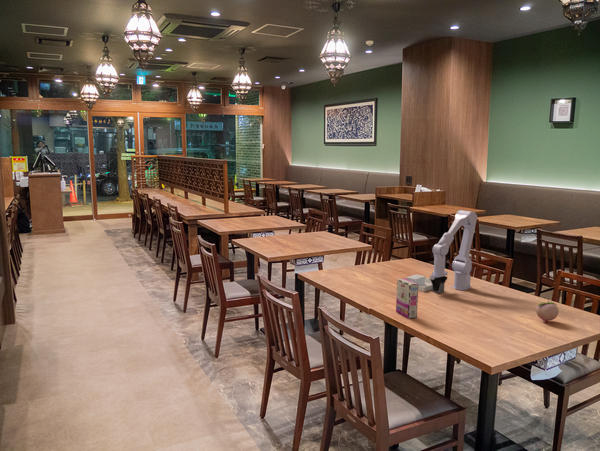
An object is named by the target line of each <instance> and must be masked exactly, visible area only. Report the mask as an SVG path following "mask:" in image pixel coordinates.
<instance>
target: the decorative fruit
mask: <svg viewBox="0 0 600 451" xmlns="http://www.w3.org/2000/svg"><path fill="white" fill-rule="evenodd" d="M557 306H558V305H557V303H555V302H551V301H550V302H549V300H547V302H543V301H542V302H540V303H538V304H537V305H536V308H535V313H536V315H537V317H538V318H539V319H540V320H542V321H544V322H546V323H547V322H550V321H553V320H555V319H556V318H557V317H558V315H559V308H558V307H557Z"/></svg>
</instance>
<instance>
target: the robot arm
mask: <svg viewBox="0 0 600 451" xmlns="http://www.w3.org/2000/svg"><path fill="white" fill-rule="evenodd" d="M477 220H478V215H477V213H476V212H475V211H471V210H470V211H469V210H463V209H459V210H457V211H456V214H455V215H454V221H453V222H452V224H451V225H450V228H449V230H448V231H447V232H444V233H443V235H442V237H440V239H439V241H438V243H435V244H434V245H433V246H432V250H431V251H432V253H433V258H434V260H433V272H431V275H429V279H430V280H431V282H432V285H433V289H434V291H438V288H439V283H440V281H442V282H444V285H445V284H446V281H447V280H448V274H449V273H448V271H445V270H446V255H448V253H449V248H450V245H451V244H452V243H453V241H454V239H455V237H454V236H455V234H457V232H458V231H459V229H460V228H461V227H462V226H463V227H464V229H463V234H462V238H461V244H460V246H459V247H460V248H459V251H458V255H457V256H455V257H454V260H453V261H452V263H451V269H452V270H453V273H454V276H453V277H454V280H453V281H454V282H453V283H454V284H453V285H452V286H450V288H452V289H455V290H457V291H458V290H460V291H462V292H463V291H466V290H469V289H472V286H471V279H472V278H471V272H472V268H473V266H472V264H473V261H472V259H471V258H470V252H471V247H472V243H473V239H474V234H475V229H476V225H477Z"/></svg>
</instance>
